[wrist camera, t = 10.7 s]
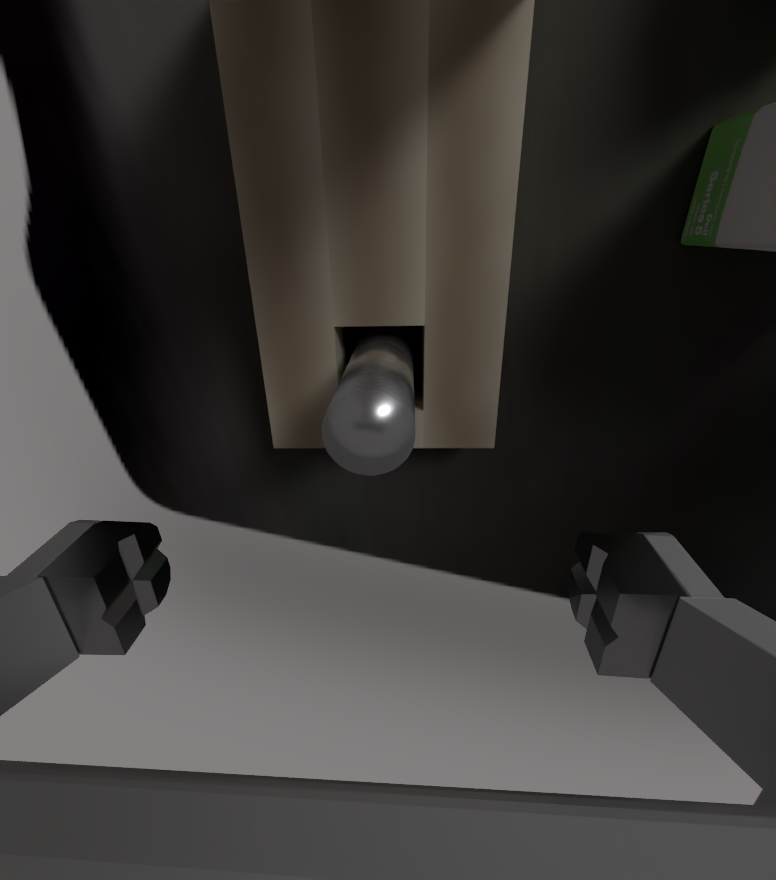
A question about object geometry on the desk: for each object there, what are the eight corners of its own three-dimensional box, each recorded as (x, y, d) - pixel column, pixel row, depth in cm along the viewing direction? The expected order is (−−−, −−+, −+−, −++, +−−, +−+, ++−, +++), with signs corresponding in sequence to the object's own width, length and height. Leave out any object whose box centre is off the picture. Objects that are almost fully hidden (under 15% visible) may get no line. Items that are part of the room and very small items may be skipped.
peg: (412, 325, 23) (415, 389, 14) (412, 381, 24) (415, 475, 15) (353, 325, 23) (317, 390, 14) (356, 382, 24) (325, 475, 15)
